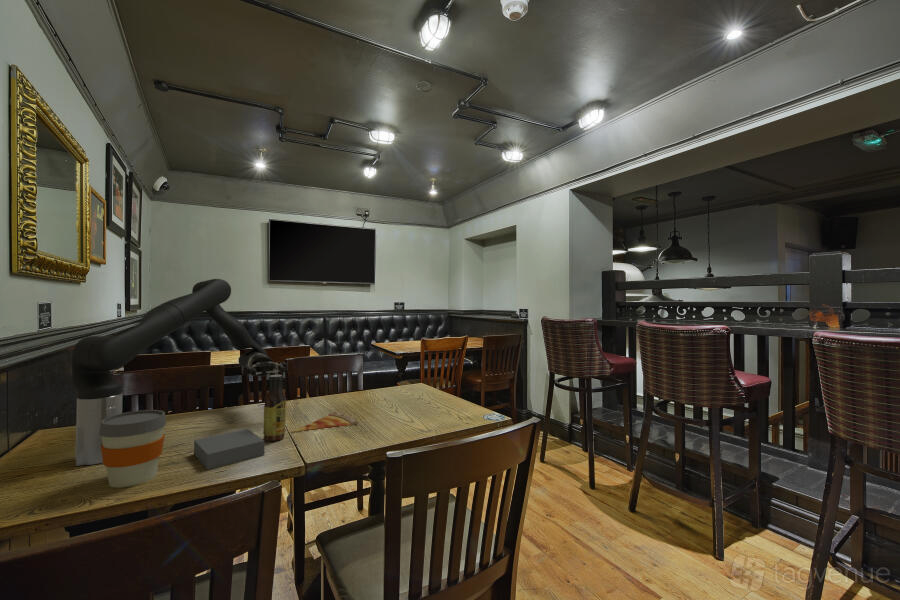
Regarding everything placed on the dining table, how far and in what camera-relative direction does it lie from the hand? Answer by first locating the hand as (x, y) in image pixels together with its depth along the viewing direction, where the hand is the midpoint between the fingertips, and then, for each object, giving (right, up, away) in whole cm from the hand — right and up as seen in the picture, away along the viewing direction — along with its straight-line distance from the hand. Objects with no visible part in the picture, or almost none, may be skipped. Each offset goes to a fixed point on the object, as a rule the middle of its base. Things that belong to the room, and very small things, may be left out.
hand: (268, 371), depth 131 cm
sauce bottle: (+6, -20, -9) cm, 23 cm away
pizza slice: (+16, -20, +8) cm, 27 cm away
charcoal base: (-1, -19, -22) cm, 29 cm away
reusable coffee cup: (-16, -19, -37) cm, 45 cm away
